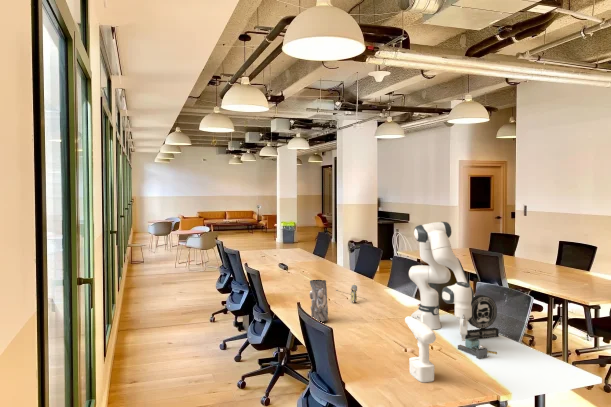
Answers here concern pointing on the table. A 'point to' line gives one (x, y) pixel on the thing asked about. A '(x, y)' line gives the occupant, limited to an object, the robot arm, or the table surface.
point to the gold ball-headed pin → (491, 352)
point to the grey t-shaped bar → (475, 351)
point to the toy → (353, 293)
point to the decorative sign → (482, 318)
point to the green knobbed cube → (472, 343)
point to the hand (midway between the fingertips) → (463, 338)
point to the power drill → (421, 351)
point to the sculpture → (319, 300)
